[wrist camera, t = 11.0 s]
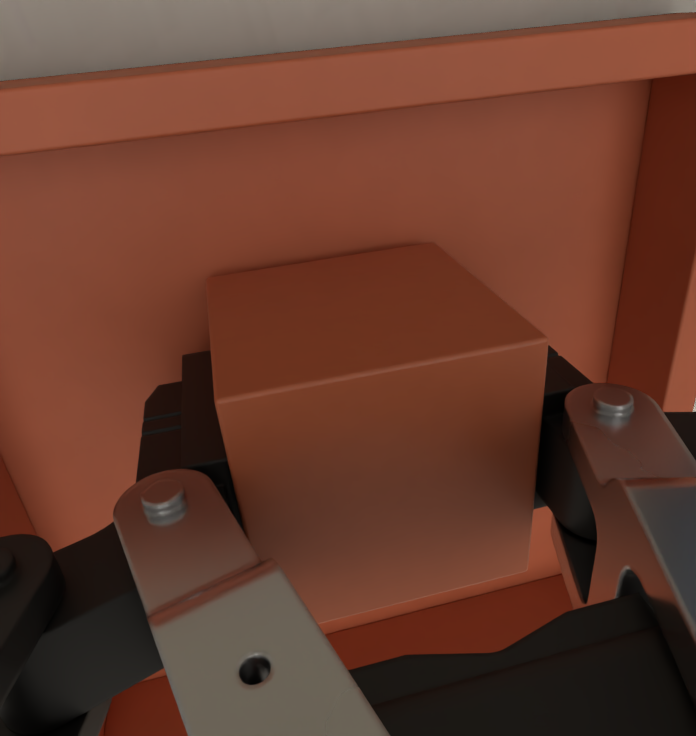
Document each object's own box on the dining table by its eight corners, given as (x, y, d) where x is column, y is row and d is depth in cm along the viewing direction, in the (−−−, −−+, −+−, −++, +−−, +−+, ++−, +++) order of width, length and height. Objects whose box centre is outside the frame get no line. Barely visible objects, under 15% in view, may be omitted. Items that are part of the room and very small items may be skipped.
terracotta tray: (89, 694, 17) (74, 794, 15) (-200, 101, 9) (-320, 121, 7) (587, 566, 19) (639, 635, 17) (676, 13, 12) (790, 7, 10)
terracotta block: (244, 466, 13) (268, 638, 9) (204, 277, 11) (213, 400, 7) (436, 427, 14) (529, 572, 10) (434, 240, 12) (551, 337, 8)
